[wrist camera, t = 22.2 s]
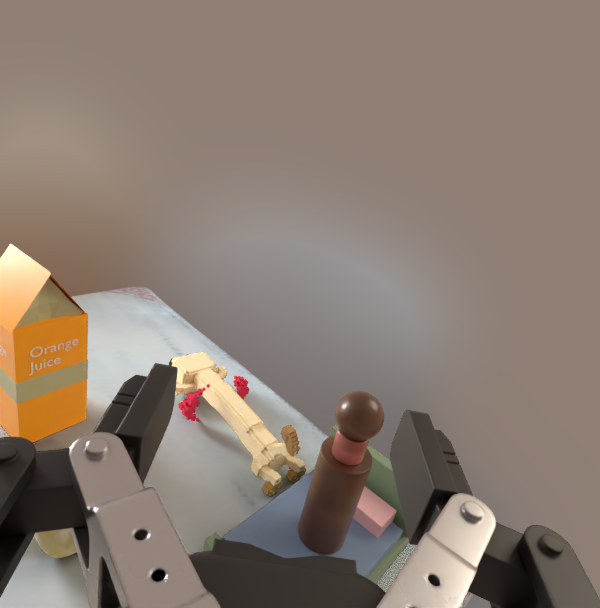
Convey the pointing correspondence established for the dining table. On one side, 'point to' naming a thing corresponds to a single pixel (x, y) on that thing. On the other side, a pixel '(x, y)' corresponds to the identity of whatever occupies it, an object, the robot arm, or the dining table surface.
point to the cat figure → (238, 418)
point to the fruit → (56, 542)
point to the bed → (362, 532)
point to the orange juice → (39, 351)
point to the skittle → (340, 474)
